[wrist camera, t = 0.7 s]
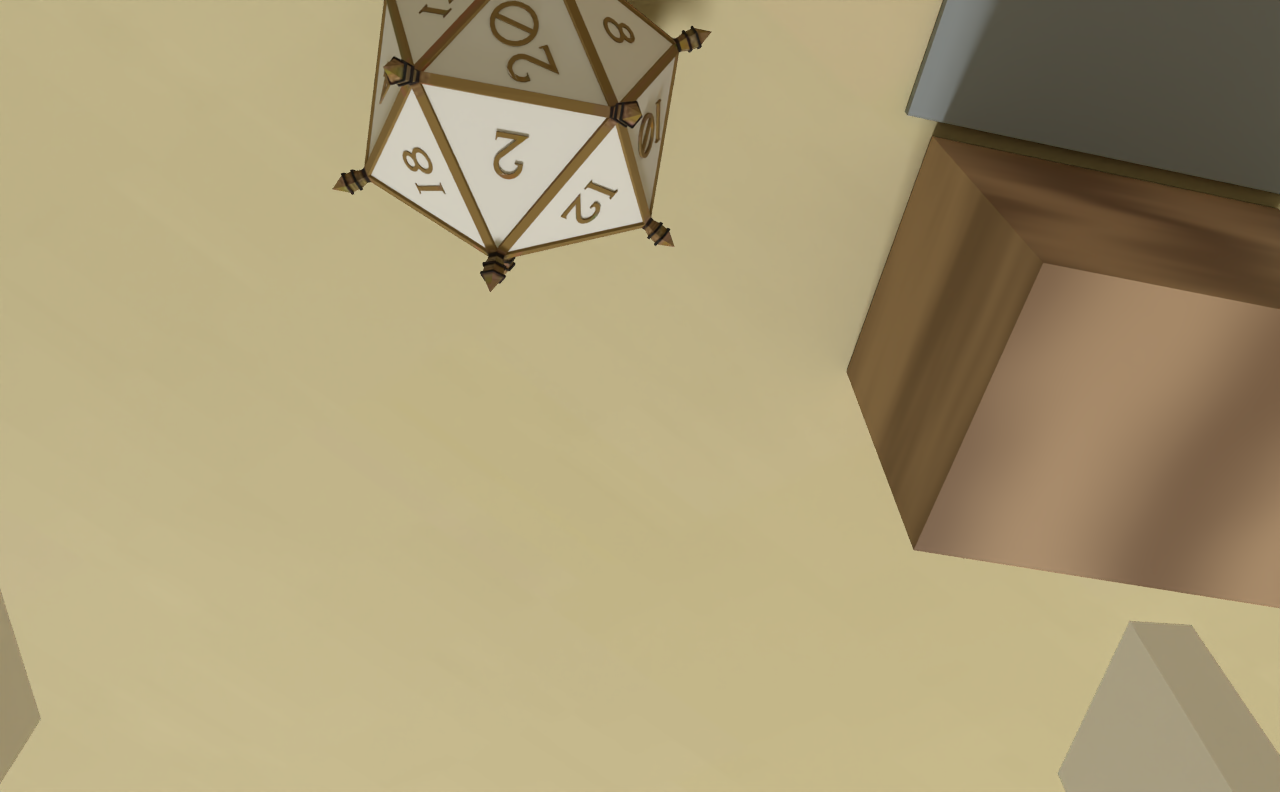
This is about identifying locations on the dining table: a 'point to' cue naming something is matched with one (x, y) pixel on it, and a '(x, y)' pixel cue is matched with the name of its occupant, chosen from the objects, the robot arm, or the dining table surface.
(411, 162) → the game die
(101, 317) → the dining table surface
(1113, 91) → the mat
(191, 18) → the dining table surface
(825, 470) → the dining table surface
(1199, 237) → the cardboard box
